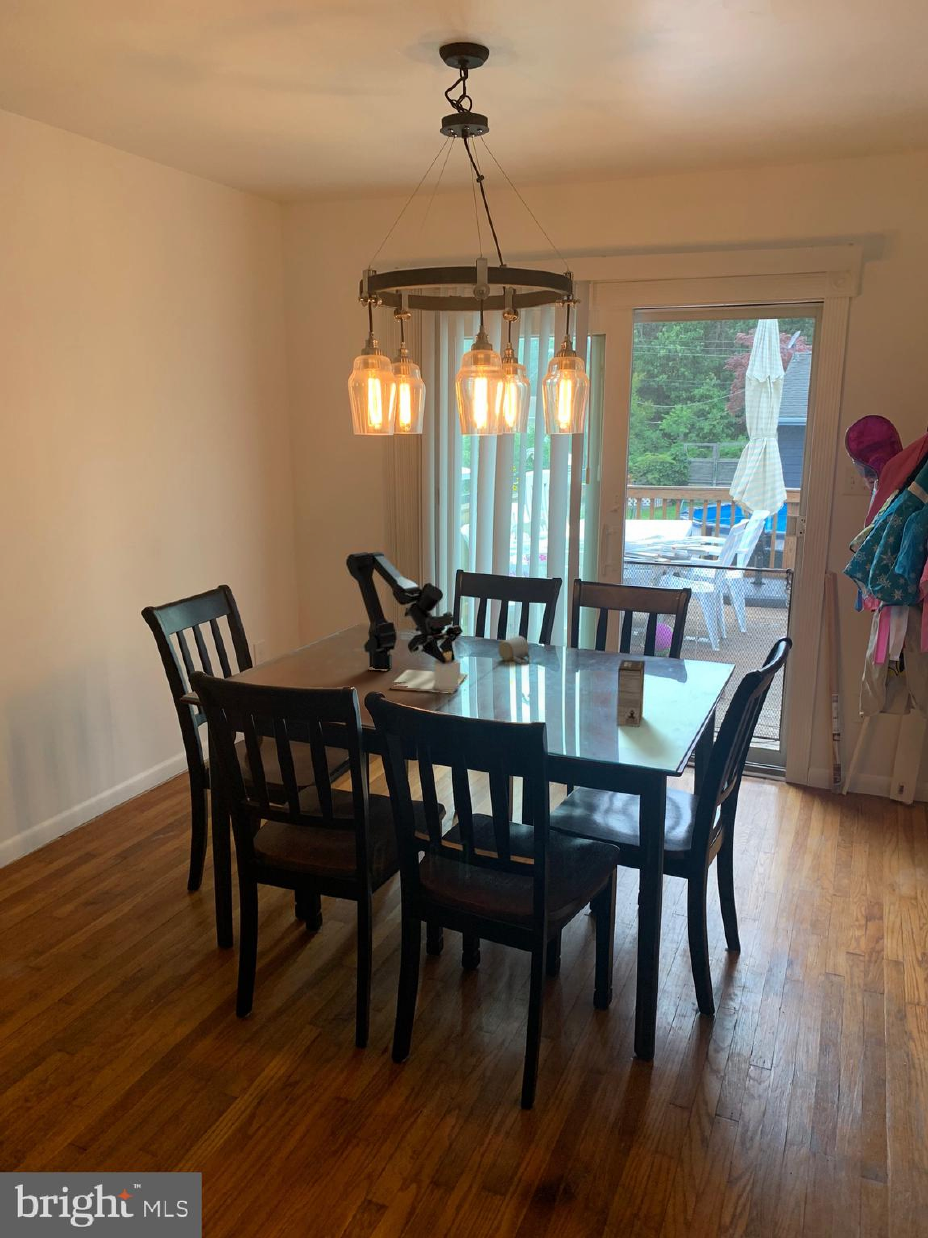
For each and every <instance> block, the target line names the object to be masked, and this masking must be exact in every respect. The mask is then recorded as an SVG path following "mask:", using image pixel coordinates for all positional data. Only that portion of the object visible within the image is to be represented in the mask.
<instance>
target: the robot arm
mask: <svg viewBox="0 0 928 1238" xmlns="http://www.w3.org/2000/svg"><path fill="white" fill-rule="evenodd" d="M345 563H346V568H347V569H348V572H349V574H350V576H351V577H352V578H353V579H354V580H355V581H357V583H358V587H359V590H360V593H361V597H362V601H363V604H364V607H365V609H366V610H365V611H366V613H367V616H368V619H369V628H368V632H367V633H368V639H367V641H366V642H365V643H364V645H363V649H364V652H365V653H368V654H369V655H368V657H369V659H368V660H369V661H368V662H369V667H373V668H375V669H389V668H390V669H391V668H393V655H392V654H391V650H395V645H396V643H397V639H398V638H397V631H396V629H395V624H394V623H393V622H392V621H390V622H389V621H388V620H387V619H386V616H385V615H384V611H383V608H382V604H381V601H380V599H379V595H378V591H377V588H376V585H375V581H374V579H373V577H374V576H373V575H374V571H376V572H377V573H378V574H379V576H380V577H381V578H382V580H384V581H385V583H386V584H387V585H389V586H390V588H391V589H392V596H393V597H394V599H395V600H396V601H397V603H398V604H399V605H401V606H406V605H410V604H411V605H410V606H409V607H405V612H404V617H405V618H408V617H410V618H411V619H412V621H413V622H414V624H415V626H416V627H415V631H416V632H420V634H415V635H414V636H413V637H412V638H411V639H410V640H409V642H408V643H407V649H408V650H409V653H411V654H412V653H416V652H418V651H419V646H422V647H421V648H422V649H421V650H420V651H421V653H425V654H426V655H428V656H430V657H432V658H434V660H439V661H440V662H442V663H445V662H446V660H445V658H444V656H443V654H442V652H441V651H443V650H449V651H452V661H454V660H455V659H456V657H455V653H454V652H455V651H454V648H453V643H454V642H455V641H456V640H457V639H458V638H459V636H461V634H462V633H464V631H463V629H462V627H461V626H460V625H458V624H457V625H453V622H454V621H455V617H454V615H453V613H452V612H451V611H447V612H444V613H443V614H442V615H439V616H437V615H432V613H431V611H433V610H434V609H435V608H436V607H437V606H438V604H439V603H440V602H441V600H442V599H443V597H444V593H443V591H442V590H441V589H440V588H439V587H437V586H436V585H433V584H432V583H431V582H427V583H425V584H424V585H423V587H422V588H420V586H419V584H417V583H415V582H414V581H412V580H411V579H407V578H405V577H404V576H403V575H402V574H401V573H400V572H399V571H398V570H397V569H396V568H395V567H394V565H392V563H391V562H390V561H389V560H388V559H387V558H386V557H385V554H384V553H383V552H381V551H374V552H369V551H367V552H366V551H365V552H364V551H363V552H358V553H357V552H356V553H351V554H349V555H348V556H347V558H346V562H345ZM447 626H449V627H448V628H446V627H447ZM445 629H446V630H445ZM443 631H444V632H443ZM438 642H439V643H440V645H439V644H438ZM390 669H389V670H390Z"/></svg>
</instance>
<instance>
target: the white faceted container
mask: <svg viewBox="0 0 928 1238" xmlns="http://www.w3.org/2000/svg"><path fill="white" fill-rule="evenodd" d="M433 663H434V664H433V666H434V672H435V683H434V684H433V685H434V688H436V689H439V690H453V689H456V690H458V689H459V687H460V686H459V683H458V679H459V678H460V673H461V662H460V661H459V660H458V659H456V658H455V660H454V661H448V662H445V663H442V662H440V661H439V660H437V659H434V661H433Z"/></svg>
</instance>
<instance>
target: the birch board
mask: <svg viewBox="0 0 928 1238" xmlns="http://www.w3.org/2000/svg"><path fill="white" fill-rule="evenodd" d="M466 677H467V678H468V673H461V672H460V678H459V679H458V683H459V685H460V684H461V683H462V682H463V683H464V681H465V680H466V679H467V678H466ZM465 678H466V679H465ZM464 679H465V680H464ZM393 682H406V683H401V684H397V685H396V686H408V687H407V688H413V689H420V690H434V691H439V692H448V693H453V692H454V690H456V691H457V689H453V690H439V689H436V688H434V685H433V684H434V683H435V671H431V670H417V669H416V670H415V669H407V670H404V672H403V673H402V674H401V675H400V676H398V677H397V678H396V679H395V680H394V681H393ZM463 683H462V684H463ZM462 684H461V685H462ZM461 685H460V686H461ZM394 686H395V685H394ZM454 693H455V692H454ZM454 693H453V694H454Z"/></svg>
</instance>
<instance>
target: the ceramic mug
mask: <svg viewBox="0 0 928 1238" xmlns="http://www.w3.org/2000/svg"><path fill="white" fill-rule="evenodd" d="M529 652H530V646H529V643H528V641H527V640H526V638H524V637H523V636H521V635H515V636H513V637H510V638H508V639H505V640H504V641H501V642H500V644H499V645H498V654H499V656H500V658H501V659H502V660H503V661H505V662H512V661H514V662H517V663H518V664H522V665H523V664H525V663H526V664H528V663H529V662H530V660H531V655H530V653H529ZM524 658H527V659H524ZM526 664H525V665H526Z"/></svg>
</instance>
